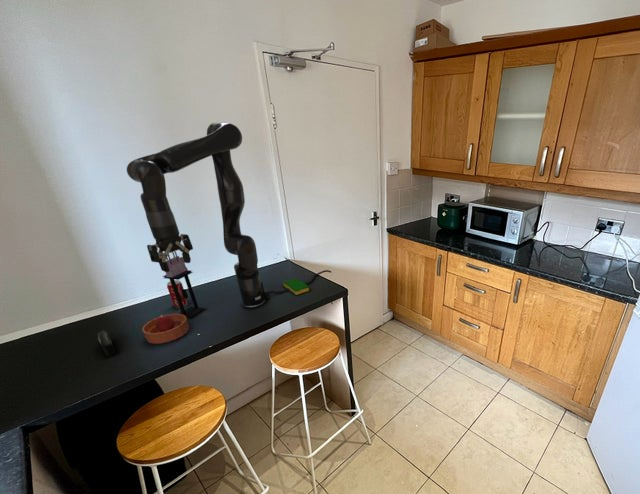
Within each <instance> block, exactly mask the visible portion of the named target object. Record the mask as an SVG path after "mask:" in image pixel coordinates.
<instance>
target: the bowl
mask: <svg viewBox="0 0 640 494" xmlns="http://www.w3.org/2000/svg"><path fill="white" fill-rule="evenodd" d="M163 316H164V317H169V318H171V319H172V320H173V321H174V323H175V325H174V328H173V329H171V330H168V331H165V332H160V331H158V329H157V328H156V323H157V321H158V320H159V319H160V316H158V317H155V318H153V319H151V320H149V321H148V322H147V323H145V324H144V325H143V326H142V328H141V329H142V330H141V332H142V334H143V336H144V338H145V341H147V343H150V344H153V345H157V344H165V343H170V342H173V341H175V340H177V339H179V338H181V337H183V336H184V335H185V334H187V333H188V332H189V330H190V324H189V321H188V318H186V316H185V315H183V314H179V313H169V314H165V315H163Z"/></svg>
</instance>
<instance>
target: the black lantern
mask: <svg viewBox="0 0 640 494" xmlns="http://www.w3.org/2000/svg"><path fill="white" fill-rule="evenodd" d="M171 254H172V256H173V257H172V258H171V255H169V256H167V258H166V262H167V264H168V267H169V270H170V271H169V272H165V275H162V278H163V279H168V280H169V282H171V285H172V288H173V290H174V293H175V296H176V299H177V302H178V304H179V307H180V308H179V310H180V312H179V313H178V314H183V315H185V316H186V318H187V319H193V318H195V317H196V316H198V315H199V314H201V313H202V312H204V311H205V310H206V309H205V307H199V305H198V302H197V297H196V295H195V292H194V289H193V287H192V283H191V281H190V277H189V275H191V274H193V273H194V272H193V271H192V270H189V269H188V267H187V266H186V263H185V262H184V259H183V256H181V257H180V256H179V255H178V254H177V251H173V252H171ZM181 279H184V282H185V283H186V287H187V289H188V292H187V289H185V288H184V289H183V290H181V292H182V295H183V298H185V299H186V298H187V299H188V298H189V296H190V298H191V302H192V304H193V306H189V307H187V308H186V309H185V307H184V306H183V303H182V300H181V298H180V295H179V292H178V289H177V286H176V283H175V281H174V280H179V281H180V280H181ZM188 293H189V294H188Z"/></svg>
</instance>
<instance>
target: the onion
mask: <svg viewBox="0 0 640 494" xmlns="http://www.w3.org/2000/svg"><path fill="white" fill-rule="evenodd" d="M159 317H160V319H159V320H158V321H157V323H156V328H157V329H158V331H160V332H165V331H168V330H171V329H173V328H174V325H175V323H174V321H173V320H172V319H171V318H169V317H164V315H163V314H160V316H159Z"/></svg>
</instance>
